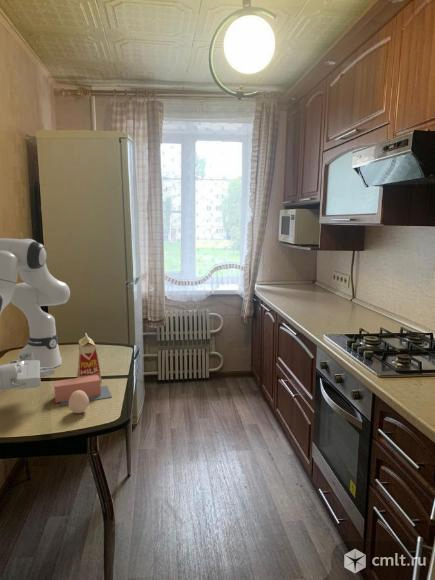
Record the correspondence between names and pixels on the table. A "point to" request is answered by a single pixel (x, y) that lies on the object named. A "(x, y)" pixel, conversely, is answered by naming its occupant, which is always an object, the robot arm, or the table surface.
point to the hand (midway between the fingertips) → (54, 370)
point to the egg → (78, 401)
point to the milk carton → (88, 359)
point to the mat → (104, 394)
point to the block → (77, 387)
